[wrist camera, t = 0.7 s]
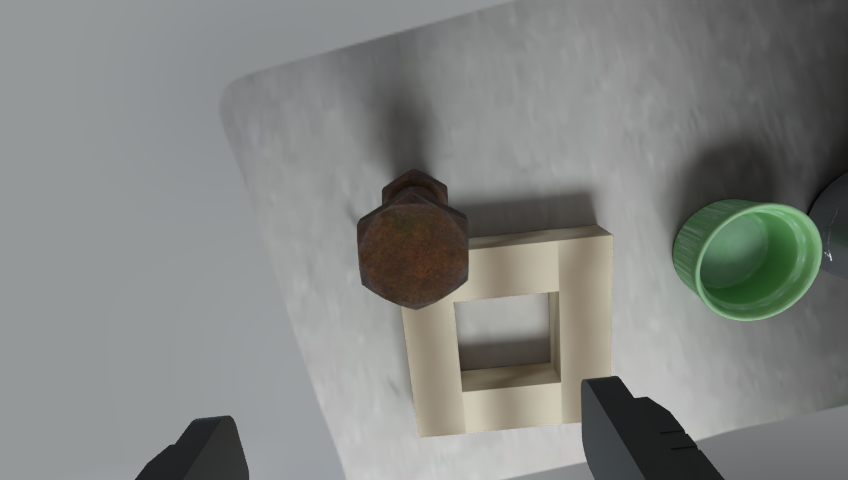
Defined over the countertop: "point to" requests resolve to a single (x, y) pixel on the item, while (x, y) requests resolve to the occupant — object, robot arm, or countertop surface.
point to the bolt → (413, 243)
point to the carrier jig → (524, 384)
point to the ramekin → (748, 257)
